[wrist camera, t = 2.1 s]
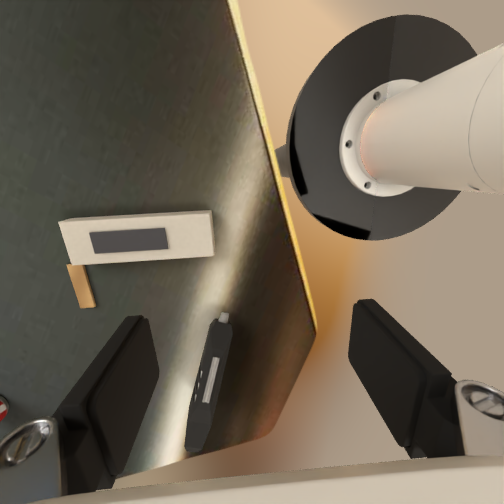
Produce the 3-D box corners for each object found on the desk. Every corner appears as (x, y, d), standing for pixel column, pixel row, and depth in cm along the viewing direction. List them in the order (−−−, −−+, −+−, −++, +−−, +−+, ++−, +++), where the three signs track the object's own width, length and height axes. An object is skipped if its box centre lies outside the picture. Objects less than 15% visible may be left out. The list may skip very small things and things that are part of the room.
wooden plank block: (83, 262, 29) (81, 264, 29) (96, 305, 31) (94, 307, 31) (68, 263, 29) (66, 264, 29) (82, 306, 31) (80, 308, 31)
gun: (230, 309, 39) (238, 317, 29) (204, 416, 36) (203, 465, 26) (213, 305, 38) (215, 312, 29) (185, 413, 36) (177, 462, 26)
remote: (211, 209, 28) (209, 213, 26) (215, 250, 30) (214, 257, 27) (71, 218, 27) (55, 222, 25) (83, 258, 29) (70, 266, 27)
